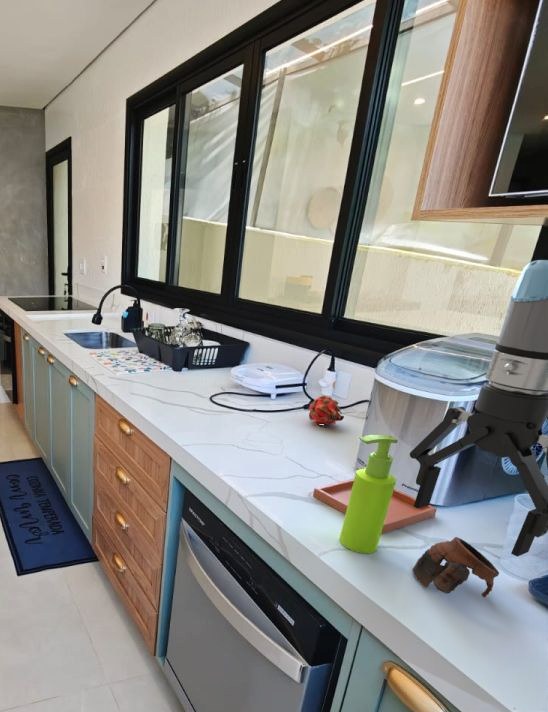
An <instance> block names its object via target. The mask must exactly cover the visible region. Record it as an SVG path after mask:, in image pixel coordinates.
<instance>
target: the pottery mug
mask: <svg viewBox="0 0 548 712" xmlns="http://www.w3.org/2000/svg"><path fill="white" fill-rule="evenodd" d="M443 561H445V563H444V565H442V562H443ZM470 570H471V571H470ZM412 572H413V576H414V577H415V578H416V580H417V581H418V582H419V583H420V584H421V585H422V586H423V587H424V588H425V589H427V588H429V586H430V585H431V583H433V586H434V587H435V589H436V590H437V591H439V592H441V593H444V594H447V595H448V594H451V593H452V592H455V590H456V589H457V587H458V586H461V585H463V583H464V582H466V581H468V578H469V576H470V575H471V574H472V575H474V576H476V577H478V578H479V579H481V580H484V581H485V585H486V589H485V590H484V591H483V592H482V593H481V597H482V598H487V596H488V595H489V594H490V593H491V592H492V591H493V588H494V580H495V578H496V577H498V576H499V575H500V572H499V570H498V569H497V568H496V566H495V565H494V564H493V563H492V562H491V561H490V560H489V559H488V558H487V557H486V556H484V555H483V554H482V553H481V552H480V551H478V550H477V549H476V548H475V547H474V546H473V545H471V544H470V543H468V542H467V541H465V540H464V539H462V538H460V537H457V536H454V538H453V539H452V540H450V541H449V540H448V541H444V542H443V541H440V542H436V543H435V544H433V545H431V546H430V548H427V549H426V550H425V551H424V553H423V554H421V556H420V557H419V558H418V559H417V561H416V562H415V564H414V566H413V567H412Z"/></svg>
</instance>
